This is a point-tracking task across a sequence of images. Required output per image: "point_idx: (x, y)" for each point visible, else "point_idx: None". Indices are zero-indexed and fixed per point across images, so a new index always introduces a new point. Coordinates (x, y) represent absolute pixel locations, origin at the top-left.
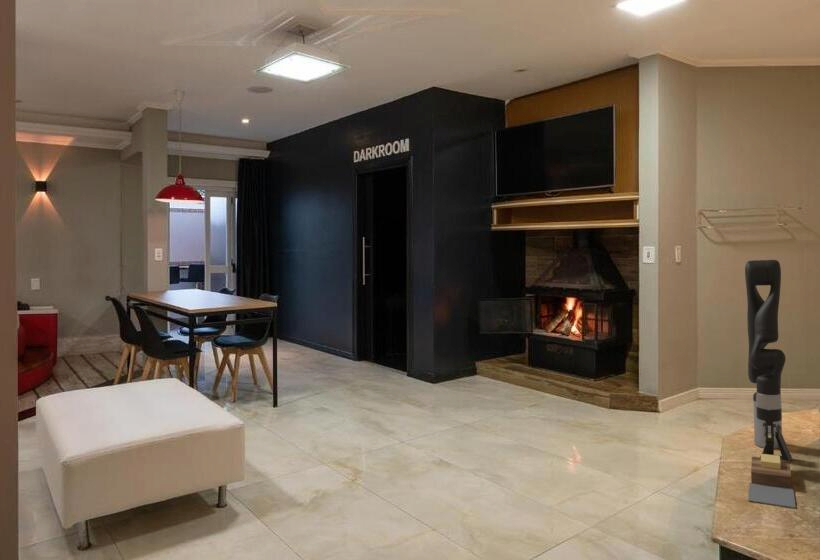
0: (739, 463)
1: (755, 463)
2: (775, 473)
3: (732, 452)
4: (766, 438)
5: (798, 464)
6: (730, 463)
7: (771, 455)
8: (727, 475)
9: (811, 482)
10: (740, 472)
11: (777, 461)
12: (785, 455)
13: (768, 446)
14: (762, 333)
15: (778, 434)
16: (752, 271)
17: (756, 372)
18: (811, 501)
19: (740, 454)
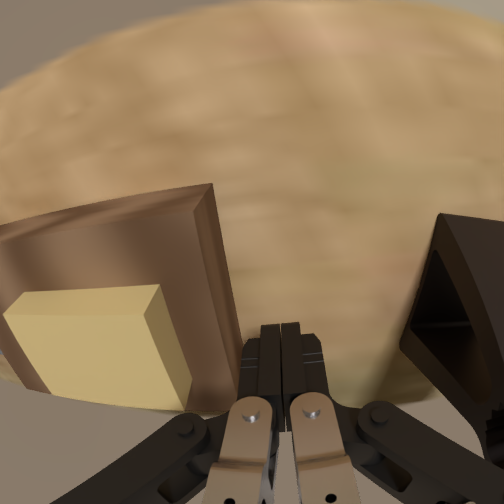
0: (268, 86)
1: (50, 258)
2: (8, 346)
3: (485, 45)
4: (96, 481)
5: (390, 373)
6: (232, 32)
7: (152, 375)
8: (11, 101)
9: (167, 410)
10: (82, 139)
11: (66, 389)
12: (417, 360)
13: (237, 400)
14: None
15: (481, 445)
16: None
17: None
18: (20, 382)
19: (473, 90)
